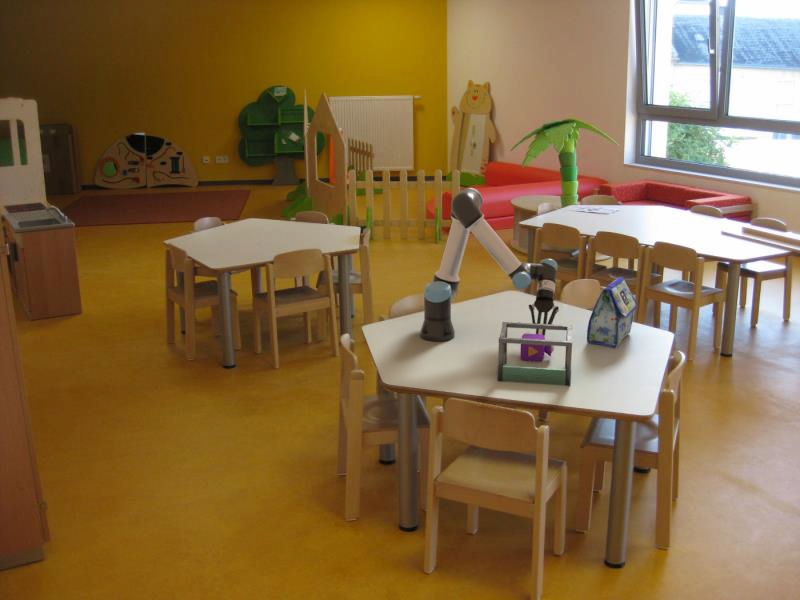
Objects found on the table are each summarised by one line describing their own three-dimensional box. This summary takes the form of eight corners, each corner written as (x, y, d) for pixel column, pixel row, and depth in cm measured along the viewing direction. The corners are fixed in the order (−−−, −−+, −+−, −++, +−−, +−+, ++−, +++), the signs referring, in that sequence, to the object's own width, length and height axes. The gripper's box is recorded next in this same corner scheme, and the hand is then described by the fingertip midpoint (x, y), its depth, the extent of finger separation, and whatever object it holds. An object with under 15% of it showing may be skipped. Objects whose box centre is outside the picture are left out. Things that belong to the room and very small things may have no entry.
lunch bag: (622, 350, 359) (627, 290, 351) (584, 343, 367) (587, 285, 359) (636, 334, 377) (640, 277, 370) (599, 329, 385) (602, 273, 378)
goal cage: (497, 381, 327) (498, 338, 322) (501, 362, 346) (502, 321, 341) (570, 386, 322) (572, 342, 317) (570, 366, 341) (572, 325, 336)
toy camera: (555, 363, 345) (556, 339, 342) (521, 363, 345) (521, 340, 343) (550, 353, 356) (551, 331, 353) (517, 354, 356) (518, 331, 353)
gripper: (529, 287, 367) (523, 336, 356) (560, 289, 363) (554, 339, 353) (530, 295, 373) (524, 344, 363) (561, 297, 370) (555, 346, 359)
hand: (539, 341), depth 358 cm, fingers closed
